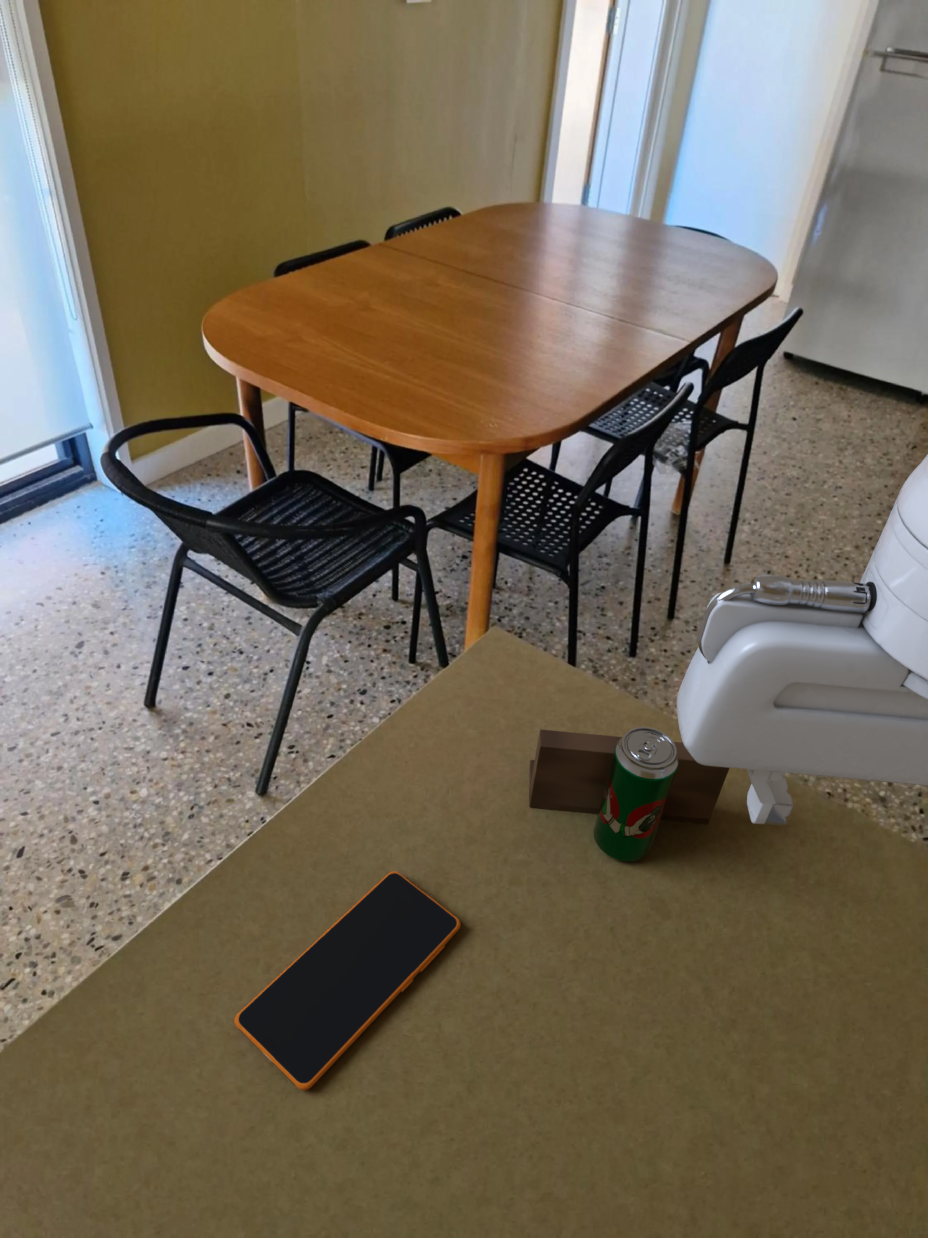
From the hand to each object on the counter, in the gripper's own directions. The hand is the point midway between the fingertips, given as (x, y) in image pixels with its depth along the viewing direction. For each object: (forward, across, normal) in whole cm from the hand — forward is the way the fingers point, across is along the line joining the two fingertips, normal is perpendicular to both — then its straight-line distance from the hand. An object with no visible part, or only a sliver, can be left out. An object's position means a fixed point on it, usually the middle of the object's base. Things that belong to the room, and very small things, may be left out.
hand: (861, 823), depth 43 cm
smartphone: (+29, -26, +6) cm, 39 cm away
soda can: (+29, -5, +20) cm, 36 cm away
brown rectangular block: (+29, -5, +25) cm, 39 cm away
